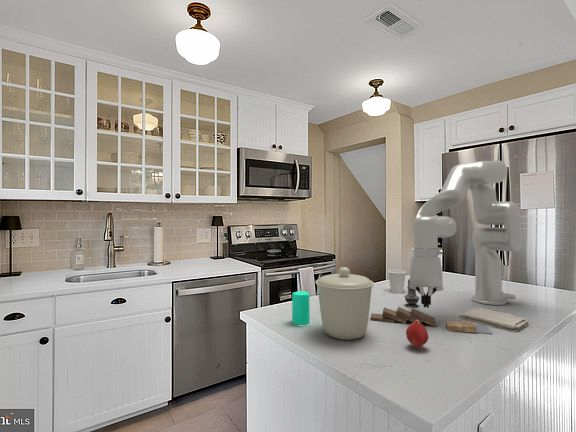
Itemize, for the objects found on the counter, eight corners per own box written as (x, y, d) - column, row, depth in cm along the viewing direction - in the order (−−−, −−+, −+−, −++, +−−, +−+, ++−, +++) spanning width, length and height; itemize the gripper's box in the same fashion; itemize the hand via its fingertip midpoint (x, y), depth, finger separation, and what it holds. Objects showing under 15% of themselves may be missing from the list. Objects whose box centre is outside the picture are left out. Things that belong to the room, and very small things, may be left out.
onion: (402, 344, 91) (402, 316, 91) (421, 343, 91) (421, 315, 91) (412, 352, 85) (411, 323, 85) (432, 351, 85) (432, 322, 85)
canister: (308, 340, 94) (307, 270, 94) (324, 321, 111) (323, 261, 111) (370, 349, 87) (369, 274, 87) (377, 327, 104) (376, 264, 104)
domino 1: (394, 315, 113) (371, 313, 116) (394, 319, 109) (370, 317, 111) (394, 319, 113) (371, 317, 116) (394, 324, 109) (370, 321, 111)
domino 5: (472, 322, 103) (445, 320, 105) (476, 327, 98) (447, 325, 101) (473, 326, 103) (446, 325, 105) (476, 332, 98) (448, 330, 101)
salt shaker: (421, 308, 125) (420, 278, 125) (405, 307, 126) (405, 277, 126) (418, 304, 131) (417, 275, 131) (403, 303, 132) (402, 275, 132)
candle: (297, 327, 105) (297, 291, 105) (289, 322, 110) (289, 287, 110) (312, 324, 108) (312, 289, 108) (304, 319, 113) (303, 286, 113)
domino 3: (421, 316, 110) (398, 306, 113) (421, 321, 106) (398, 310, 108) (419, 320, 111) (396, 310, 113) (419, 325, 106) (396, 314, 109)
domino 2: (406, 315, 112) (384, 307, 115) (407, 319, 107) (383, 311, 110) (405, 319, 112) (382, 311, 115) (405, 323, 107) (382, 315, 110)
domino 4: (435, 318, 109) (411, 307, 111) (436, 322, 104) (412, 311, 107) (433, 322, 109) (410, 311, 112) (434, 326, 104) (410, 316, 107)
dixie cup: (393, 288, 158) (393, 269, 158) (409, 291, 152) (409, 271, 152) (384, 291, 152) (384, 271, 152) (400, 294, 146) (400, 273, 146)
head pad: (485, 325, 105) (485, 324, 105) (492, 334, 97) (492, 333, 97) (462, 323, 107) (462, 322, 107) (466, 331, 100) (466, 330, 100)
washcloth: (517, 334, 98) (517, 325, 98) (458, 319, 113) (458, 311, 113) (530, 326, 105) (530, 317, 105) (473, 313, 120) (473, 305, 120)
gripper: (448, 252, 108) (448, 305, 108) (402, 251, 113) (402, 301, 113) (451, 255, 101) (452, 311, 101) (402, 253, 106) (402, 307, 106)
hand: (426, 306), depth 107 cm, fingers closed
